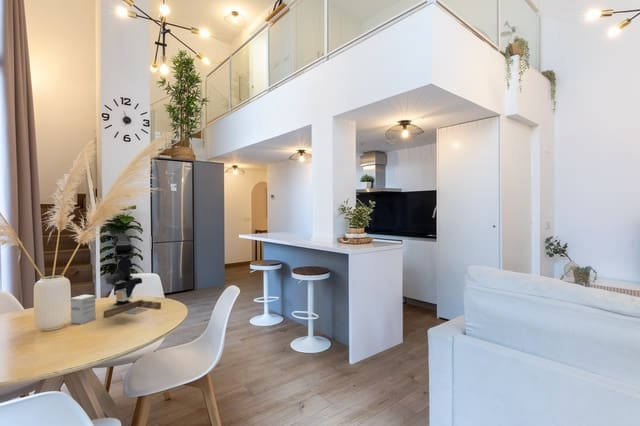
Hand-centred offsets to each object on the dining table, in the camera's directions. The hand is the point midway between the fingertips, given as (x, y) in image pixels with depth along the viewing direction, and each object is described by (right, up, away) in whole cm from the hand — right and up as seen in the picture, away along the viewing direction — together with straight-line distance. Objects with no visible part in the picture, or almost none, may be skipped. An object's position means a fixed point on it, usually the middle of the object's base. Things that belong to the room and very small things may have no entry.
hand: (124, 297), depth 159 cm
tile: (0, -11, +11) cm, 15 cm away
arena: (-1, -11, +9) cm, 14 cm away
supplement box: (-18, -11, -4) cm, 22 cm away
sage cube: (0, -1, 0) cm, 1 cm away
